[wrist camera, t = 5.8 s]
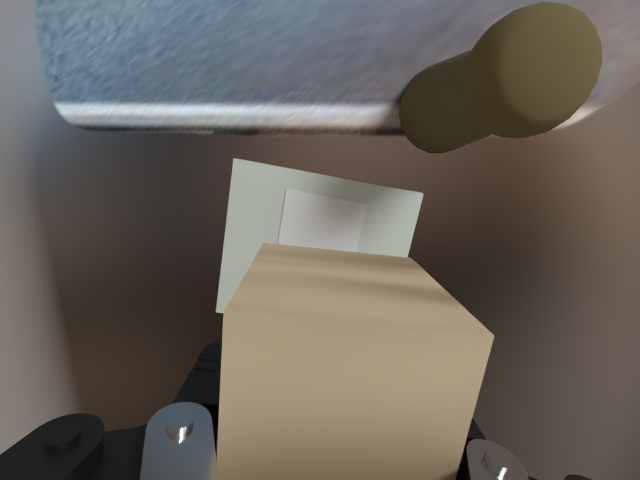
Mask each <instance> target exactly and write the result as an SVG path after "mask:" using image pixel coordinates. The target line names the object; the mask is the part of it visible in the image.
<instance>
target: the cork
mask: <svg viewBox="0 0 640 480" xmlns="http://www.w3.org/2000/svg"><path fill="white" fill-rule="evenodd" d="M601 63H602V54H601V41H600V39H599V36H598V33H597V30H596V28H595V26H594V25H593V23H592V22H591V21H590V20H589V19H588V18H587V16H586V15H585V14H584V13H582V12H580V11H578V10H576V9H575V8H573V7H571V6H569V5H565V4H562V3H551V2H541V3H537V4H534V5H530V6H526V7H523V8H520V9H517V10H514V11H512V12H511V13H509V14H508V15H506V16H505V17H503V18H502V19H500V20H499V21H497V22H496V23H495V24H493V25H492V26H491V27H490V28H489V29H488V30H487V31H486V32H485V33H484V35H483V36H482V37H481V38H480V39H479V40H478V42H477V43H476V44H475V46H474V47H473V49H472V50H470V51H467V52H465V53H462V54H460V55H457V56H455V57H452V58H450V59H447V60H445V61H442V62H440V63H437V64H435V65H432V66H430V67H427V68H426V69H424V70H423V71H421V72H420V73H418V74H417V75H415V77H414V78H413V79H412V80H411V82H410V83H409V84H408V85H407V86H406V89H405V91H404V93H403V96H402V98H401V102H400V111H399V116H400V121H401V127H402V129H403V131H404V133H405V135H406V137H407V138H408V140H409V141H410V142H412V143H413V144H414V145H415V146H416V147H417V148H419V149H422V150H424V151H426V152H429V153H444V152H448V151H452V150H454V149H457V148H460V147H462V146H465V145H467V144H470V143H472V142H474V141H477V140H479V139H482V138H484V137H487V136H489V135H492V134H494V135H497V136H500V137H507V138H525V137H530V136H534V135H538V134H541V133H545V132H547V131H549V130H551V129H553V128H555V127H556V126H558V125H559V124H561V123H563V122H564V121H566V120H568V119H569V118H570V117H571V116H572V115H573V114H574V113H575V112H576V111H577V110H578V109H579V108H580V107H581V105H582V104H583V103H584V102H585V101H586V99H587V98H588V97H589V95H590V93H591V91H592V89H593V87H594V86H595V84H596V82H597V79H598V75H599V71H600V67H601Z"/></svg>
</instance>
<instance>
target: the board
mask: <svg viewBox="0 0 640 480" xmlns="http://www.w3.org/2000/svg"><path fill="white" fill-rule="evenodd" d="M422 198H423V193H420V192H414V191H409V190H403V189H398V188H393V187H387V186H382V185H376V184H371V183H366V182H360V181H354V180H349V179H343V178H338V177H333V176H328V175H322V174H317V173H311V172H306V171H300V170H295V169H290V168H284V167H279V166H273V165H268V164H263V163H257V162H252V161H247V160H241V159H235V158H234V159H233V167H232V176H231V185H230V193H229V202H228V212H227V219H226V229H225V237H224V245H223V254H222V263H221V271H220V280H219V289H218V297H217V306H216V312H218V313H224V310H225V308H226V307H227V305H228V303H229V302H230V300H231V298H232V296H233V295H234V293H235V291H236V289H237V288H238V286H239V284H240V282H241V281H242V279H243V277H244V276H245V274H246V272H247V270H248V269H249V267H250V265H251V263H252V262H253V260H254V258H255V256H256V255H257V253H258V251H259V250H260V248H261V246H262V244H263V243H271V244H281V245H290V246H300V247H310V248H320V249H329V250H339V251H349V252H359V253H368V254H378V255H388V256H398V257H408V253H409V248H410V245H411V241H412V237H413V233H414V229H415V225H416V221H417V218H418V214H419V210H420V206H421V202H422Z"/></svg>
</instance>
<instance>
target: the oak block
mask: <svg viewBox="0 0 640 480" xmlns="http://www.w3.org/2000/svg"><path fill="white" fill-rule="evenodd" d="M493 338H494V335H493V334H492V333H491V332H490V331H489V330H487V329H486V328H485V327H484V326H483V325H482V324H481V323H480V322H479V321H478V320H477V319H476V318H475V317H474V316H472V315H471V314H470V313H469V312H468V311H467V310H466V309H465V308H464V307H463V306H462V305H461V304H460V303H458V301H456V300H455V299H454V298H453V297H452V296H451V295H450V294H449V293H448V292H447V291H446V290H445V289H444V288H442V287H441V286H440V285H439V284H438V283H437V282H436V281H435V280H434V279H433V278H432V277H431V276H430V275H429V274H427V273H426V272H425V271H424V270H423V269H422V268H421V267H420V266H419V265H418V264H417V263H416V262H415V261H413V259H411V258H407V257H398V256H388V255H378V254H368V253H359V252H349V251H339V250H329V249H320V248H310V247H300V246H290V245H281V244H271V243H263V244H262V246H261V248H260V250H259V251H258V253H257V255H256V256H255V258H254V260H253V262H252V263H251V265H250V267H249V269H248V270H247V272H246V274H245V276H244V277H243V279H242V281H241V282H240V284H239V286H238V288H237V289H236V291H235V293H234V295H233V296H232V298H231V300H230V302H229V303H228V305H227V307H226V308H225V310H224V315H223V336H222V356H221V377H220V398H219V419H218V440H217V460H216V462H217V471H218V480H456V476H457V472H458V468H459V465H460V461H461V457H462V454H463V450H464V446H465V442H466V439H467V435H468V431H469V428H470V424H471V420H472V416H473V413H474V409H475V405H476V402H477V398H478V394H479V390H480V387H481V383H482V379H483V375H484V371H485V368H486V364H487V361H488V357H489V354H490V350H491V346H492V342H493Z"/></svg>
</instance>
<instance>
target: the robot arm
mask: <svg viewBox="0 0 640 480" xmlns="http://www.w3.org/2000/svg"><path fill="white" fill-rule="evenodd" d="M221 356H222V341H220V340H215V341H213V342H212V343H210V344H209V345H208V346H206V347H205V348H204V349H203V351H202V353H201V355H200V356H199V358H198V361H197V362H196V363H195V365H194V367H193V370H191V372H190V374H189V375H188V377H187V379H186V381H185V382H184V384H183V386H182V388H181V389H180V391H179V393H178V395H177V396H176V398H175V400H174V402H173V403H172V404H171V405H169V406H166V407H164V408H162V409H161V410H159V411H158V412H157V413H155V414H154V416H152V418H151V419H150V420H149V422H148V424H145V425H142V426H139V427H135V428H129V429H122V430H116V431H108V432H104V424H103V422H102V421H101V420H100V419H99V418H98V417H96V416H94V415H90V414H82V413H81V414H71V415H66V416H62V417H59V418H56V419H53V420H51V421H49V422H47V423H45V424H43V425H41V426H39V427H38V428H36V429H35V430H34V431H32V432H31V433H30V434H28V435H27V436H25V437H24V438H23V439H21V440H20V441H19V442H17V443H16V444H14V445H13V446H12V447H10V448H9V449H8V450H6V451H5V452H3V453H2V454H1V455H0V480H218V471H217V462H216V460H217V440H218V419H219V398H220V377H221ZM456 480H537V479H534V478H532V477H529V476H528V475H527V473H526V471H525V469H524V468H523V466H522V465H521V463H520V462H519V461H518V460H517V459H516V458H515V457H514V456H513V455H512V454H511V453H509V452H508V451H507V450H505V449H504V448H502V447H501V446H499V445H497V444H495V443H493V442H490V441H487V440H486V438H485V436H484V435H483V433H482V432H481V430H480V429H479V427H478V426H477V424H476V422H475V421H474V420H473V418H472V420H471V424H470V428H469V431H468V435H467V439H466V442H465V446H464V450H463V454H462V457H461V461H460V465H459V468H458V472H457V476H456ZM564 480H591V479H588V478H586V477H583V476H580V475H568V476H566V477H565V479H564Z"/></svg>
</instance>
